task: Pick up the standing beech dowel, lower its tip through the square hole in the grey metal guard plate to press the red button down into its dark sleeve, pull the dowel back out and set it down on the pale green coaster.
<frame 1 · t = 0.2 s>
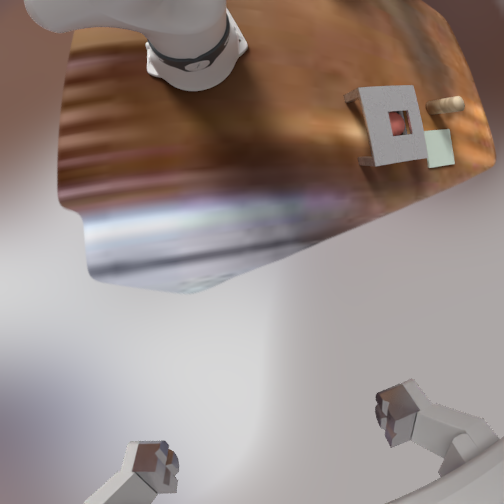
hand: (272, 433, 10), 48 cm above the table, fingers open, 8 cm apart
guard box: (382, 125, 52), on the table
coaster: (438, 147, 53), on the table
dowel: (430, 108, 51), on the table
button: (391, 124, 48), point 4 cm above the table, slide at 0.0 cm
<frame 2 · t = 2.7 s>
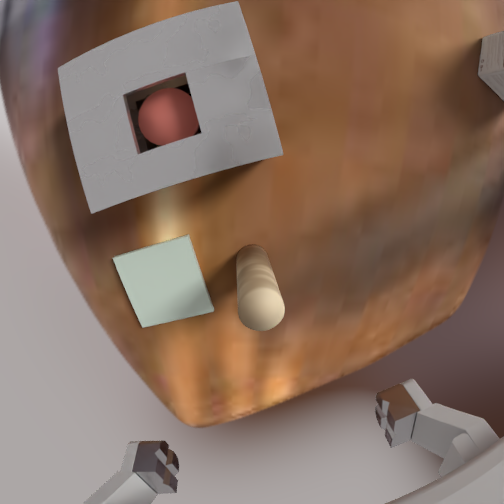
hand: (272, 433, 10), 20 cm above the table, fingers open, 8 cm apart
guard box: (179, 123, 24), on the table
coaster: (163, 283, 29), on the table
supplement box: (495, 71, 23), on the table
dowel: (252, 259, 29), on the table
button: (170, 118, 21), point 4 cm above the table, slide at 0.0 cm
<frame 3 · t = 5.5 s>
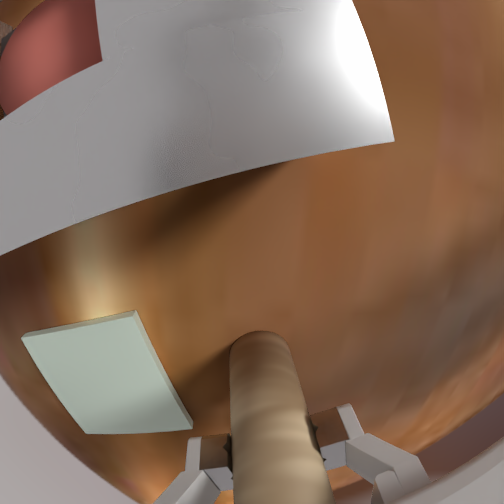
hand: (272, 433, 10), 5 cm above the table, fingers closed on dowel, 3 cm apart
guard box: (112, 85, 10), on the table
coaster: (105, 382, 14), on the table
dowel: (259, 355, 14), on the table, touching gripper
button: (72, 62, 7), point 4 cm above the table, slide at 0.0 cm
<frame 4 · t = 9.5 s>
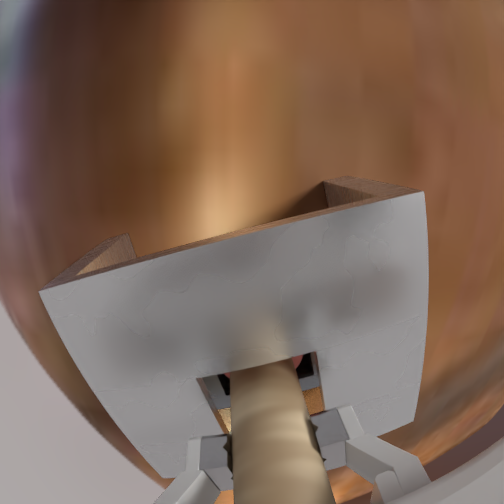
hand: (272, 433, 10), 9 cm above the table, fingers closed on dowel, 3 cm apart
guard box: (254, 319, 18), on the table
dowel: (259, 356, 14), point 4 cm above the table, touching button, gripper
button: (257, 338, 16), point 2 cm above the table, slide at 1.6 cm, touching dowel
when the fingers open (7 cm above the table, at t = 14.1 s): dowel drops 1 cm, resting on coaster.
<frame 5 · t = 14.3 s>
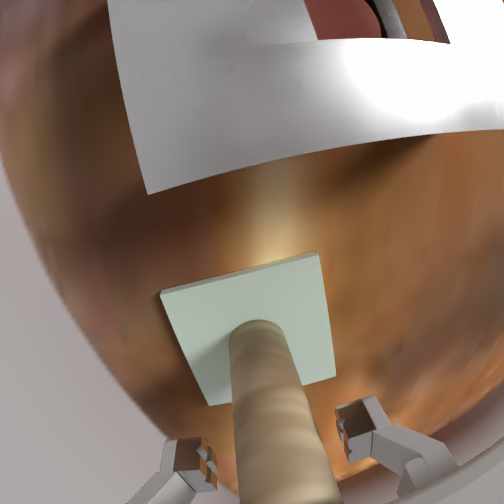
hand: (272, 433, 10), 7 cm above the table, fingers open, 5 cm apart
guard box: (307, 48, 12), on the table
coaster: (256, 336, 16), on the table
dowel: (257, 343, 16), point 1 cm above the table, touching coaster
button: (319, 33, 10), point 2 cm above the table, slide at 1.7 cm
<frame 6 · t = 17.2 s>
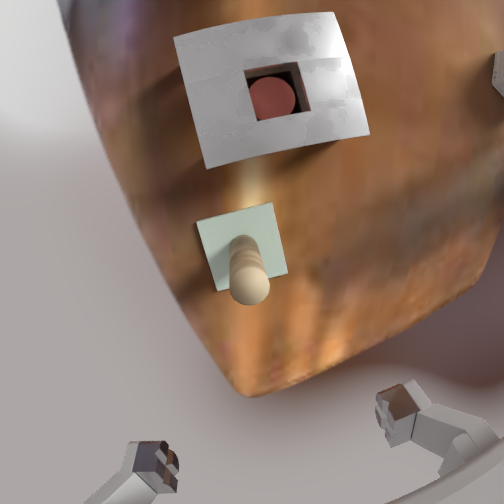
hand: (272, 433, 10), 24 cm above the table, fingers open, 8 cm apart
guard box: (267, 105, 28), on the table
coaster: (243, 246, 33), on the table
dowel: (243, 248, 32), point 1 cm above the table, touching coaster
button: (269, 101, 26), point 2 cm above the table, slide at 1.7 cm
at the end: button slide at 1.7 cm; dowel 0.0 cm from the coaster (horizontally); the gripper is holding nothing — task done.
